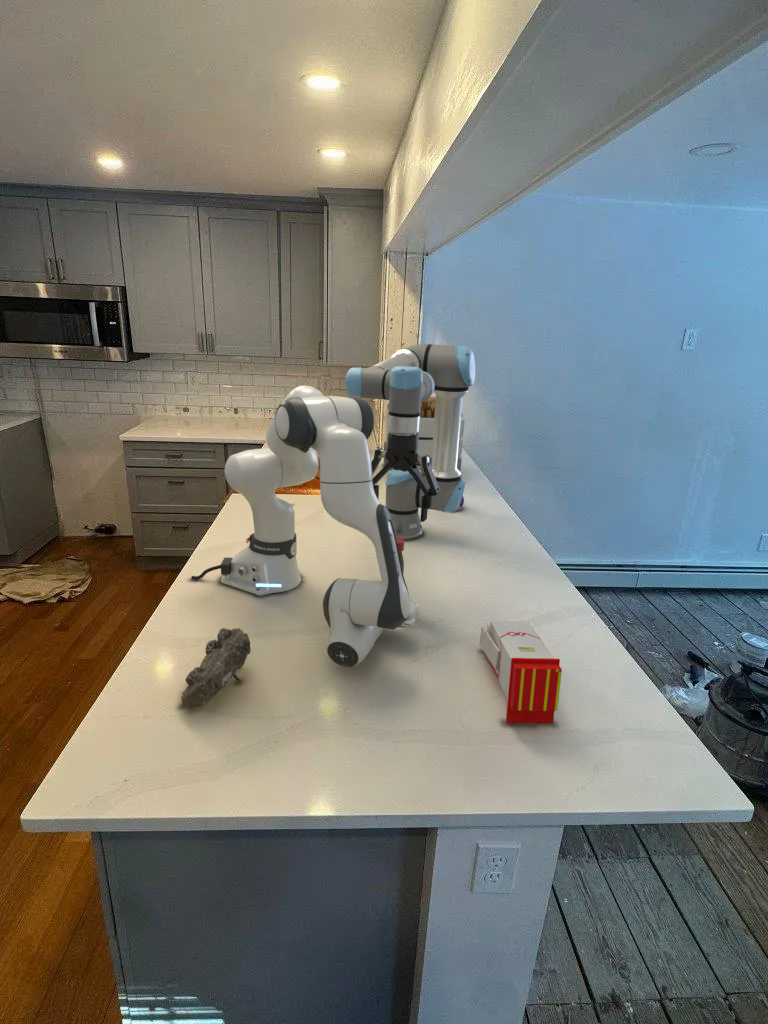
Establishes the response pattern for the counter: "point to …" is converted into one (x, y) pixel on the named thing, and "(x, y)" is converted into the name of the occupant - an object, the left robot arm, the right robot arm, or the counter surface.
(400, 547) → the cap
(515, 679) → the toy
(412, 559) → the counter surface
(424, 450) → the white wooden crate
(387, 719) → the counter surface
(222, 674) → the fossil
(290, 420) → the left robot arm
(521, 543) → the counter surface
